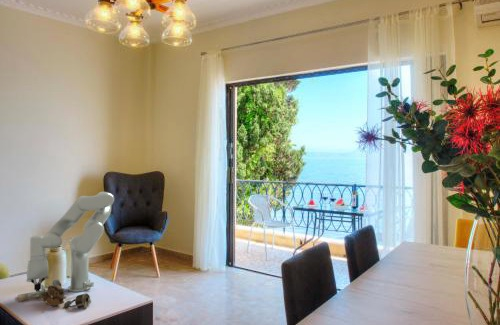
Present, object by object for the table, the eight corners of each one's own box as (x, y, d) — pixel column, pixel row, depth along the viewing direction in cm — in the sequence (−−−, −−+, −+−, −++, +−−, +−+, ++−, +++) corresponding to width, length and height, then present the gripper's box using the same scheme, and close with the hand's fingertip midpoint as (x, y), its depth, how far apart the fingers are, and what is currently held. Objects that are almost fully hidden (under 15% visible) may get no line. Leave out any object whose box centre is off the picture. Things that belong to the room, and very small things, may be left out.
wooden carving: (38, 304, 187) (38, 285, 187) (45, 301, 191) (46, 282, 191) (61, 309, 181) (62, 289, 181) (69, 305, 185) (69, 286, 185)
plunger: (43, 295, 195) (43, 287, 195) (41, 291, 201) (41, 283, 201) (45, 295, 195) (45, 287, 196) (43, 291, 202) (43, 283, 202)
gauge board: (19, 302, 189) (19, 291, 189) (17, 297, 197) (17, 286, 197) (61, 294, 201) (61, 284, 201) (58, 289, 209) (58, 279, 209)
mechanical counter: (78, 302, 176) (94, 291, 185) (60, 296, 181) (76, 285, 190) (79, 315, 178) (95, 304, 186) (61, 308, 183) (78, 297, 192)
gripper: (52, 254, 206) (51, 286, 206) (21, 258, 197) (21, 291, 197) (54, 257, 200) (53, 289, 200) (22, 261, 191) (22, 295, 191)
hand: (37, 290), depth 198 cm, fingers closed
